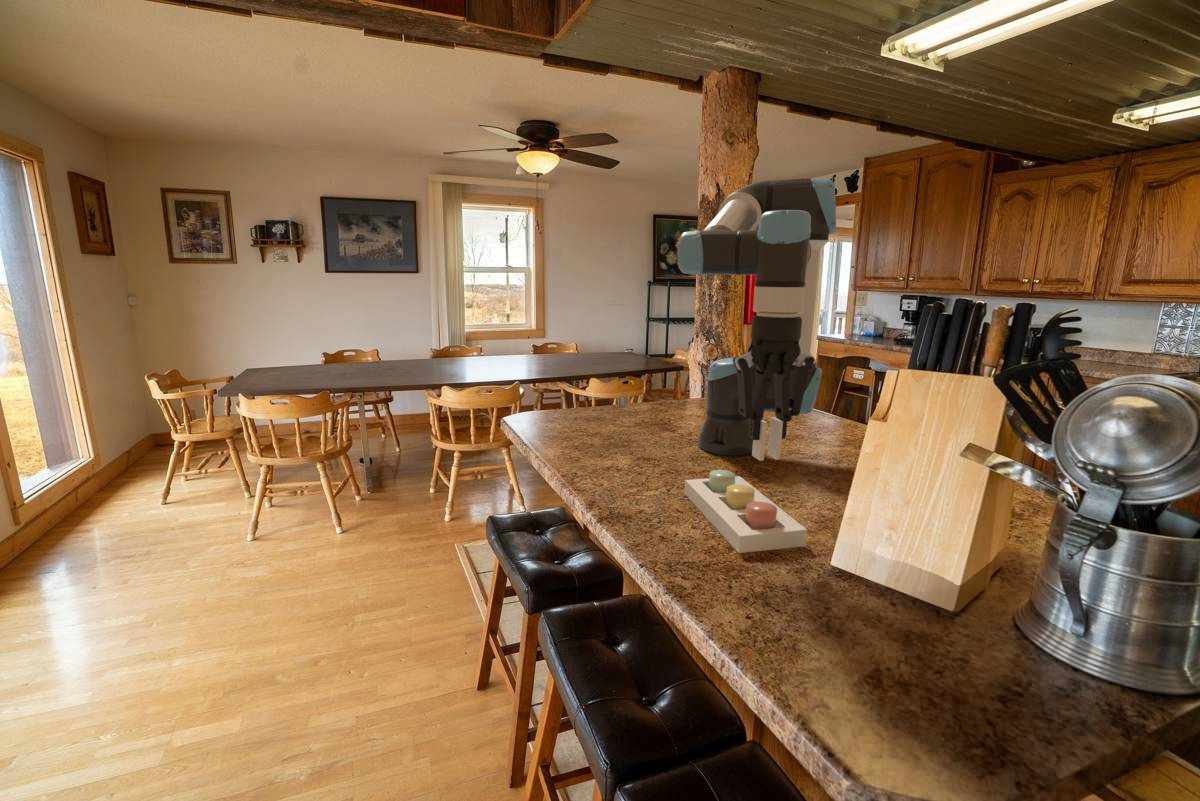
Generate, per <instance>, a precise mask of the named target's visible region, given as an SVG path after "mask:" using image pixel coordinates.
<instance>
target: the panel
mask: <svg viewBox="0 0 1200 801" xmlns="http://www.w3.org/2000/svg"><path fill="white" fill-rule="evenodd" d="M736 484H738V485H746V486H749V487H751V488H753V489H754V490H755V493H754V502H755V501H760V502H766V503H770V504H772V505H774V506H775V507H776V508H777V516H776V526H775V528H772V529H762V530H757V529H754V528H751V527H749V526H748V525H746V523H745V519H746V509H741V510H735V509H732V508H729V507H728V506H727V505H726V492H721V493H717V492H713V491H711V490H710V489H709V477H708V478H694V479H684V492H683V493H684V495H685V496H686V498H688V499H689V500H690V502H692V504H693V505H694V506H695V507H696V508H697V509H698V511H699V512H700V513H701V514H702V515H703V516H704V517H705V518H706V519H707V520H708V521H709V522H710V524H711V525H712V526H713V527H714V528H715V529H716V531H717V532H719V533H720V535H722V537H723V538H724V539H725V540H726V541H727V542H728V543H729V544H730V546H732V548H733V549H734V550H735V552H737V554H743V553H753V552H760V551H761V552H762V551H763V552H765V551H773V550H782V549H784V550H785V549H793V548H802V547H806V546H807V545H806V543H807V534H808V529H807V528H806V527H804V526H803V525H802V524H801V523H800V522H798V521H797V520H796V519H794V518H793V517H792V516H791V515H790V514H788V513H787V512H785V511H784V510H783V509H782V508H780V507H779V506H778V505H777V504H776V503H775V502H773V501H772V500H770V499H769V498H768V497H767V496H765V495H764V494H762V493H761V492H760V490H758V489H756V488H755V487H754V486H753V485H752V484H750V483H749V482H747V481H746V480H745V479H744V478H743V477H742V476H740V475H735V485H736Z"/></svg>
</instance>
